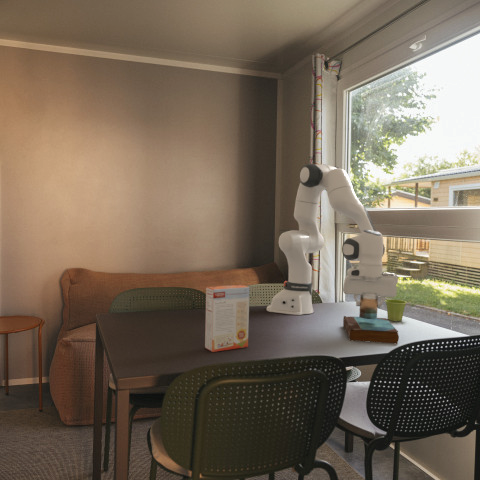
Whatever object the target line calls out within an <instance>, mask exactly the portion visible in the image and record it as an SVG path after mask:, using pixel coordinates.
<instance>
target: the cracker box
mask: <svg viewBox="0 0 480 480" xmlns="http://www.w3.org/2000/svg"><path fill="white" fill-rule="evenodd" d="M249 316H250V287H249V286H247V285H244V284H238V285H236V284H231V285H218V286H207V287H205V332H204V334H205V335H204V348H205V349H207V350H208V351H210V352H212V353H216V352H223V351H229V350H230V351H231V350H237V349H243V348H249V323H250V321H249V318H250V317H249Z"/></svg>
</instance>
